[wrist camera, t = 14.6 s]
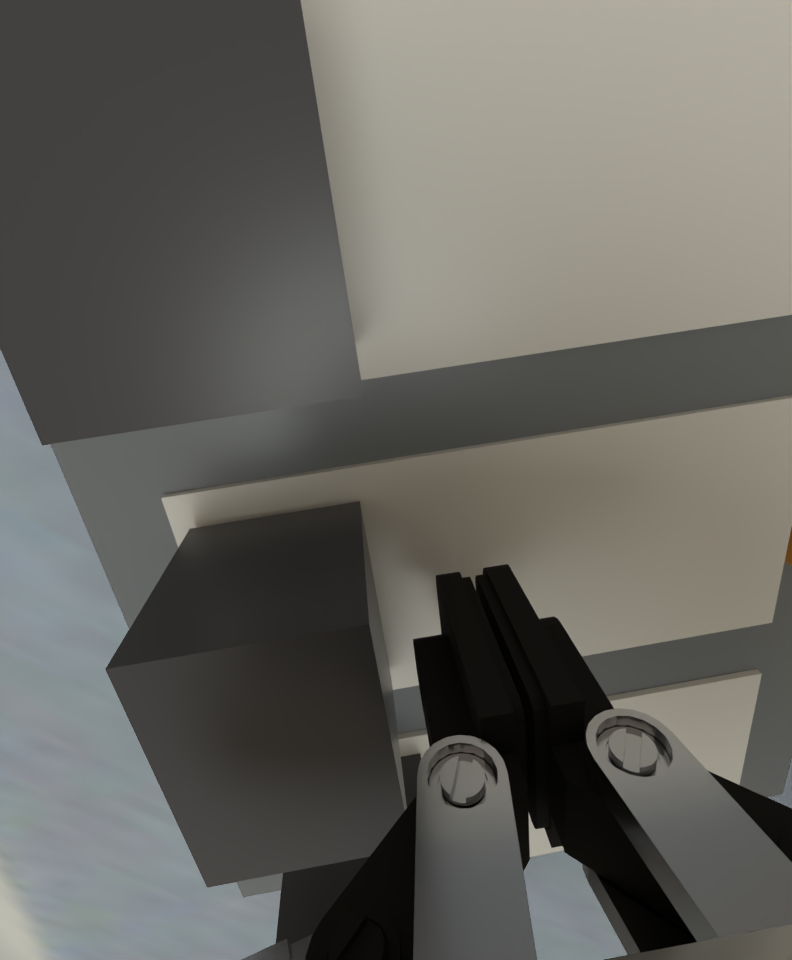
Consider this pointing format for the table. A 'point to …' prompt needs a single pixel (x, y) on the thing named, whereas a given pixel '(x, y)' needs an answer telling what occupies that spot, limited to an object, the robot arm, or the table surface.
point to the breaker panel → (429, 319)
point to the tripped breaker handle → (267, 694)
